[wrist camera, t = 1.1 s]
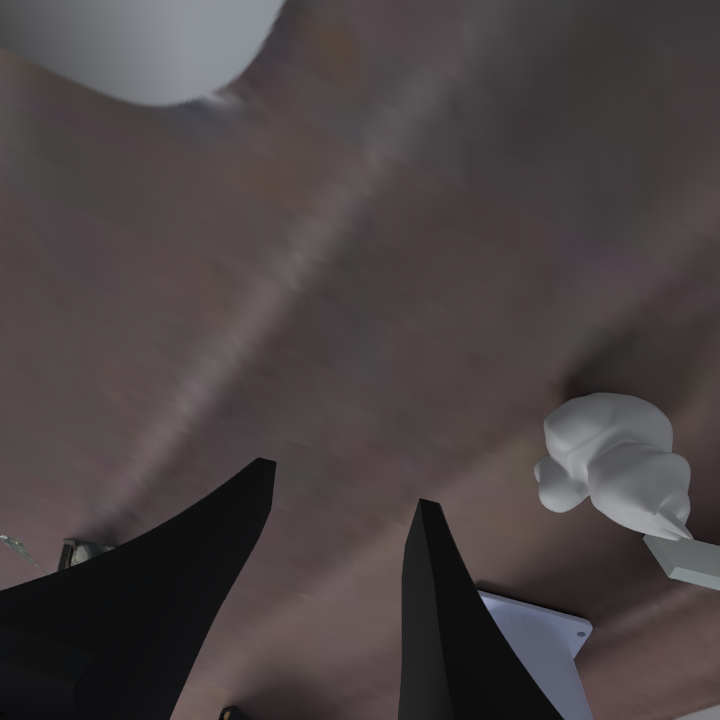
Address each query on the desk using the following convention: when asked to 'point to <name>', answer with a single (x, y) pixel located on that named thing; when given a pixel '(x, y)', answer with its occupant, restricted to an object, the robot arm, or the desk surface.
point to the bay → (687, 560)
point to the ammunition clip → (233, 714)
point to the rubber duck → (616, 464)
